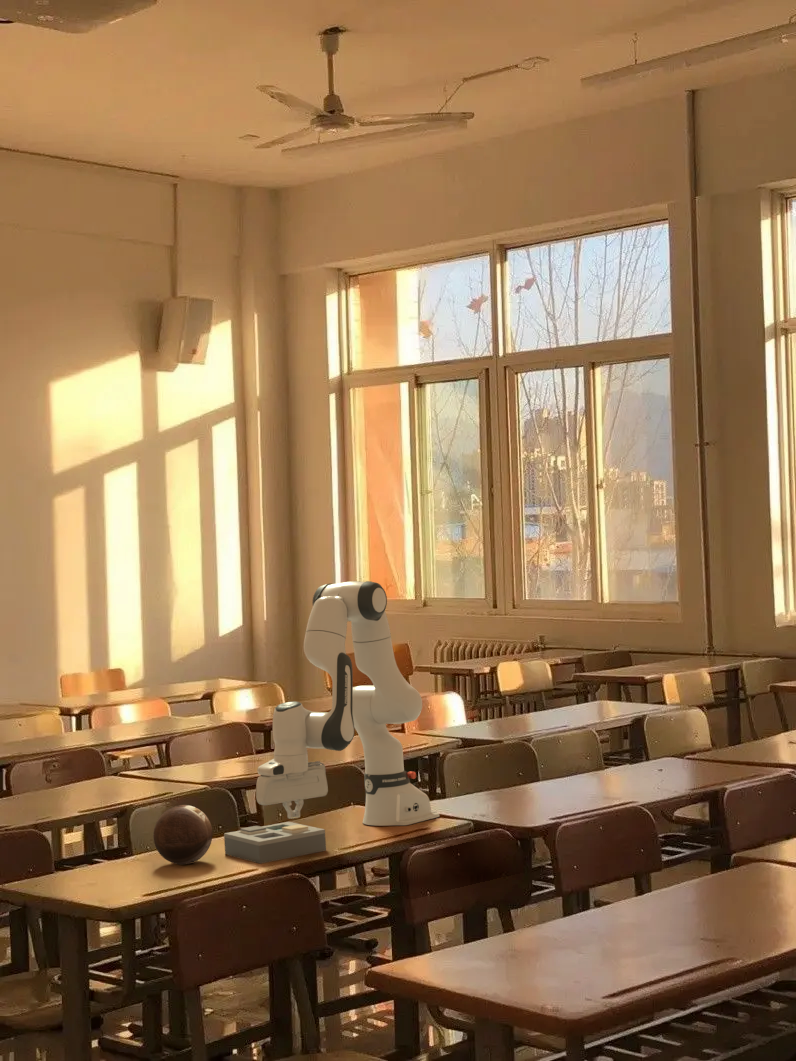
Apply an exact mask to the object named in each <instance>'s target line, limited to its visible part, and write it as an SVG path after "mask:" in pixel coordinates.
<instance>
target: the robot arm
mask: <svg viewBox="0 0 796 1061" xmlns="http://www.w3.org/2000/svg"><path fill="white" fill-rule="evenodd" d="M387 604H388V597H387V593H386V591H385V589H384V588H383V586H382V585H381V584H380V583H378V582H376V581H375V582H374V581H369V580H366V581H357V580H356V581H355V580H351V581H350V580H348V581H342V582H337V583H326V584H322V585H321V586H318V588H317V589H316V591H315V592H314V594H313V596H312V608H311V611H310V613H309V617H308V619H307V624H306V630H305V635H304V640H303V653H304V655H305V658H306V659H307V660H308V661H309V663H310V664H312V665H313V666H315V667H316V668H318V669H320V670H322V671H324V672H326V673H327V674H328V675H329V676H330V677H331V682H332V696H331V700H332V701H331V709H330V710H329V711H328V712H327V711H325V712H324V711H323V712H321V711H319V712H318V711H312V710H309V709H307V708H305V707H304V706H303V703H302V702H300V701H288V702H283V703H280V704H277V705H276V706H275V707H274V710H273V716H272V739H273V743H274V751H273V758H272V759H270V760H268V761H267V762H265V763H262V764H261V765H259V766H258V767H257V774H258V775H259V776H258V777H257V780H256V787H255V797H256V802H257V803H258V804H259V805H261V806H268V805H269V806H270V805H271V806H272V805H276V804H281V803H282V806H283V807H284V809H285V812H286V815H287V816H286V817H287V819H298V818H300V817H301V810H302V808H303V806H304V804H305V803H304V800H307V799H313V798H320V797H321V798H322V797H326V796H327V795H328V792H329V788H328V780H327V775H326V766H325V764H324V763H323V762H321V761H320V760H316V761H310V762H309V757H308V749H316V750H317V749H319V750H320V749H323V750H331V751H336V752H337V751H338V752H340V751H343V750H345V749H346V748H347V747H348V746H349V745H350V744H351V743H352V741H353V739H354V737H355V732H356V733H357V734H358V737H359V739H360V741H361V745H362V749H363V757H364V768H365V769H364V771H365V772H364V773H363V776H364V777H363V778H364V780H363V781H364V790H365V806H364V814H363V819H362V824H364V825H368V826H376V827H377V826H379V827H381V826H383V827H384V826H409V825H412V824H416V823H420V822H421V823H422V822H424V821H427V820H432V819H435V818H439V817H440V813H439V812H438V811H435V810H432V805H431V801H430V798H429V796H428V795H427V794H426V793H425V792H424V791H422V790H420V789H419V788H418V787H416V786H415V785H414V784H412V783H411V780H410V779H413V780H414V779H416V777H417V774H416V771H407V770H405V767H404V766H405V765H404V748H403V745H402V742H401V741H400V740H399V739H398V738H397V737H395V736H393V735H392V734H391V732H390V731H389V729H388V727H387V725H389V724H390V725H393V724H395V725H403V724H405V723H410V722H414V721H416V720H417V719H418V718H419V717H420V715H421V712H422V710H423V699H422V696H421V693H420V692H419V691H418V689H416V688H415V687H414V686H412V685H411V684H410V683H409V682H408V681H407V680H406V678H405V677H404V676H403V674H402V673H401V671H400V668H399V667H398V665H397V660H396V658H395V653H394V648H393V641H392V635H391V629H390V623H389V619H388V616H387V612H386V608H387ZM348 622H350V623H351V625H350V626H351V637H352V638H351V640H352V646H353V654H354V660H355V661H354V662H355V666H356V667H357V670H358V671H359V672H361V673H362V674H364V675H366V676H367V677H368V678H369V680H370V681H371V683H372V684H363V685H362V684H361V685H357V686H354V682H353V681H354V680H353V677H354V676H353V674H354V672H353V662H352V659H351V657H350V656H349V655H347V652H346V639H347V638H346V637H347V631H348ZM293 801H294V803H295V806H294V810H293V809H292V808H291V806H292V802H293Z"/></svg>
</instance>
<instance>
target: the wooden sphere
mask: <svg viewBox="0 0 796 1061" xmlns="http://www.w3.org/2000/svg"><path fill="white" fill-rule="evenodd" d="M152 837H153V844H154V846H155V848H156V851H157V852H158V854H159V855H160V856H161V857H162V858H163V859H165V860H166V861H167V862H169V863H171V864H174V865H189V864H193V863H195V862H197V861H199V860H200V859H201V858H202V857H204V855H206V853H208V851H209V849H210V847H211V844H212V840H213V828H212V824H211V821H210V820H209V817H208V816H207V815H206V814H205V813H204V812H203V811H202V810H200V809H199V808H197V807H195V806H192V805H189V804H180V805H179V804H178V805H175V806H172V807H170V808H169V809H166V811H164V812H163V813H162V814H161V815H160V816H159V817H158V819H157V821H156V823H155V826H154V828H153V836H152Z"/></svg>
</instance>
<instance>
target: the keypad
mask: <svg viewBox="0 0 796 1061" xmlns="http://www.w3.org/2000/svg"><path fill="white" fill-rule="evenodd" d="M298 824H299V825H303V826H308V830H309V831H305V832H300V833H294V834H289V833H285V832H282V827H287V826H292V825H298ZM261 827H265V828H266V832H264V833H259V834H253V835H246V834H242V833H240V830H237V831H230V832H225V833H223V839H224V854H225V855H226V854H228V855H227V856H230V855H231V856H230V857H234V858H238V859H242V860H245V861H250V862H253V863H257V864H264V863H265V864H266V863H270V862H275V861H279V860H285V859H290V858H295V857H301V856H306V855H310V854H316V853H320V852H324V851H327V842H326V829H324V828H321V827H320V828H319V827H315V826H311V825H306V824H300V823H296V822H292V821H286V822H280V823H279V822H278V823H274V824H268V825H263V826H261ZM277 829H280V830H277ZM272 836H274V837H273V838H267V837H272ZM263 838H267V839H263Z"/></svg>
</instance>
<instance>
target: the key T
mask: <svg viewBox="0 0 796 1061" xmlns="http://www.w3.org/2000/svg"><path fill="white" fill-rule="evenodd" d="M297 824H298V825H292V826H287V827H282V832H285V833H289V834H294V833H300V832H305V831H309V830H308V826H309V825H307V826H303V825H304V824H302V825H299V824H300V823H297Z"/></svg>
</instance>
